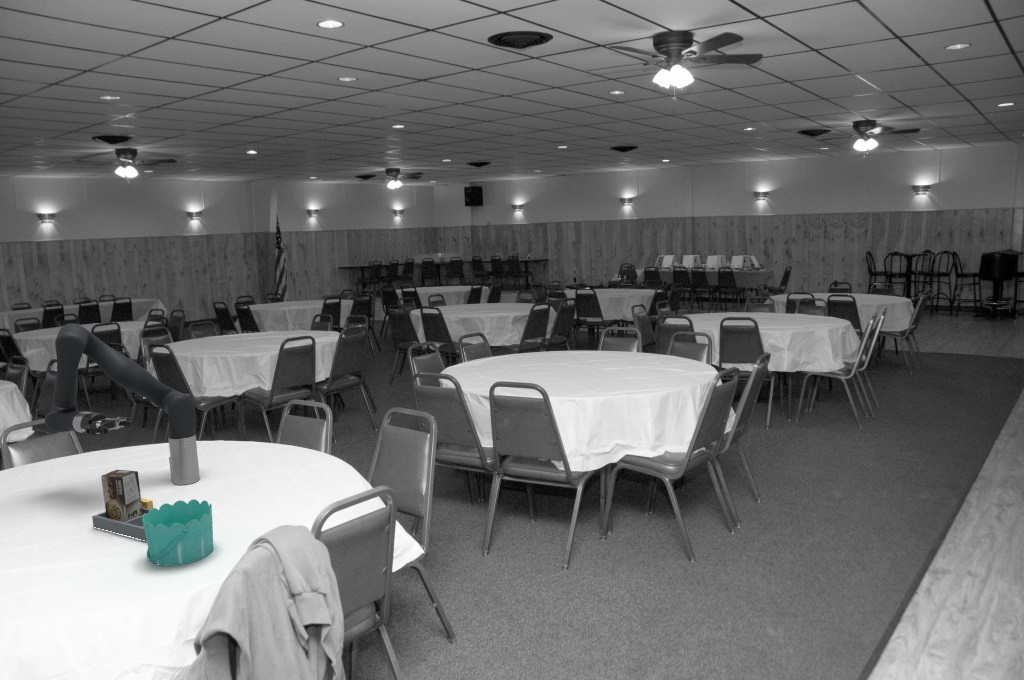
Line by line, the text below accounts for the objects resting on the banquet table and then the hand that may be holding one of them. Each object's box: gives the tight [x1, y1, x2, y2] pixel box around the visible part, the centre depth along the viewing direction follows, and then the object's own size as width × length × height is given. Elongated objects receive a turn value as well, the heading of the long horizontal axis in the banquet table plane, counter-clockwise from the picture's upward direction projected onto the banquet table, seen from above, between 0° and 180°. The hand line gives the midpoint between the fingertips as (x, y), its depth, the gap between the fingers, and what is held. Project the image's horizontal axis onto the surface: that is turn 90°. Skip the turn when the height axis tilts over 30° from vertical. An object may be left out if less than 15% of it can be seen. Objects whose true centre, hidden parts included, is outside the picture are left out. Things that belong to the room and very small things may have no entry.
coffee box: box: [100, 469, 143, 522], centre depth 246 cm, size 9×6×16 cm
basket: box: [142, 499, 214, 567], centre depth 223 cm, size 19×18×13 cm
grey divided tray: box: [91, 497, 174, 541], centre depth 244 cm, size 30×14×6 cm, turn 60°
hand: (119, 427), depth 259 cm, fingers open, 8 cm apart
